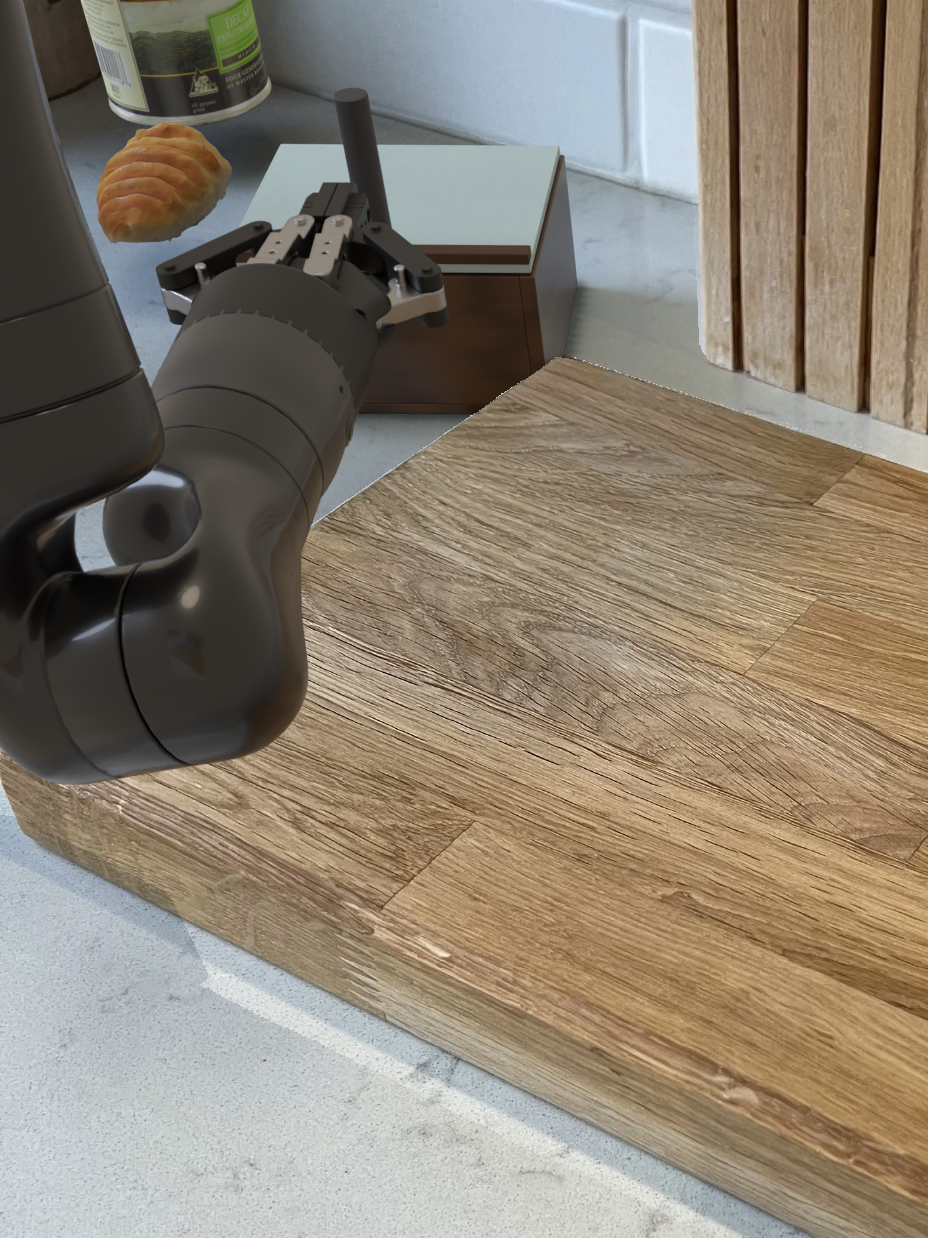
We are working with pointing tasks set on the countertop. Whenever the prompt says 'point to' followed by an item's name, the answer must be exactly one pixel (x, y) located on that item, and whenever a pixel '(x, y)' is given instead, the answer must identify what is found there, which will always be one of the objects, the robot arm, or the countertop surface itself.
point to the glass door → (422, 191)
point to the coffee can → (178, 59)
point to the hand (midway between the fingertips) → (343, 201)
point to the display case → (483, 329)
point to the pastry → (160, 184)
